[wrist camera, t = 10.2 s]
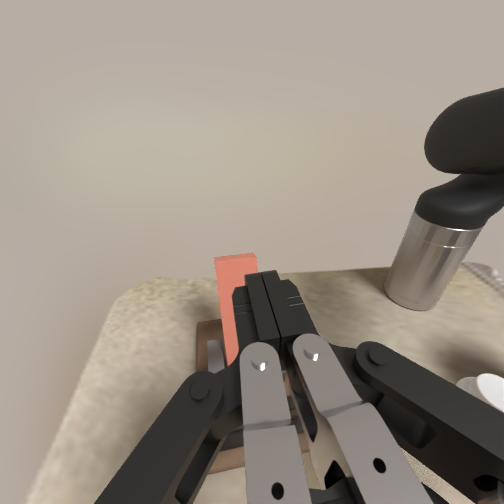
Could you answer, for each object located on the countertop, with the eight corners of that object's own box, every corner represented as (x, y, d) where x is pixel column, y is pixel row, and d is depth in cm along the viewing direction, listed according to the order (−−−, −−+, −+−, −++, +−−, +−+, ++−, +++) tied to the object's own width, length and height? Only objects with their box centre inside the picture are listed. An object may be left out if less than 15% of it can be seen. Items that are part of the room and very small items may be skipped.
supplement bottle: (420, 402, 33) (456, 360, 27) (468, 411, 32) (516, 370, 26) (437, 454, 28) (484, 417, 22) (492, 466, 27) (558, 432, 21)
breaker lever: (266, 366, 32) (256, 256, 29) (228, 373, 32) (214, 261, 29) (262, 355, 35) (253, 252, 32) (227, 362, 34) (214, 257, 31)
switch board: (318, 448, 29) (327, 427, 25) (198, 476, 27) (188, 458, 23) (276, 315, 45) (277, 290, 41) (198, 328, 43) (192, 302, 39)
